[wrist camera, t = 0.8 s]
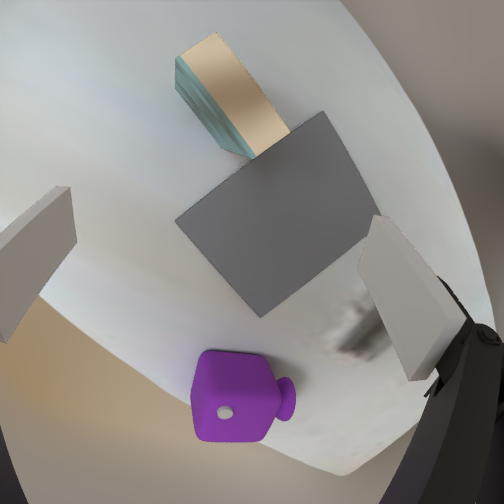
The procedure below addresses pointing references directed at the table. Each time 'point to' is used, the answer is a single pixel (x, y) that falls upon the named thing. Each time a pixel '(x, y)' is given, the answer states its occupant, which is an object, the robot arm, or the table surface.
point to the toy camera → (238, 397)
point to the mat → (283, 215)
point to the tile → (227, 98)
